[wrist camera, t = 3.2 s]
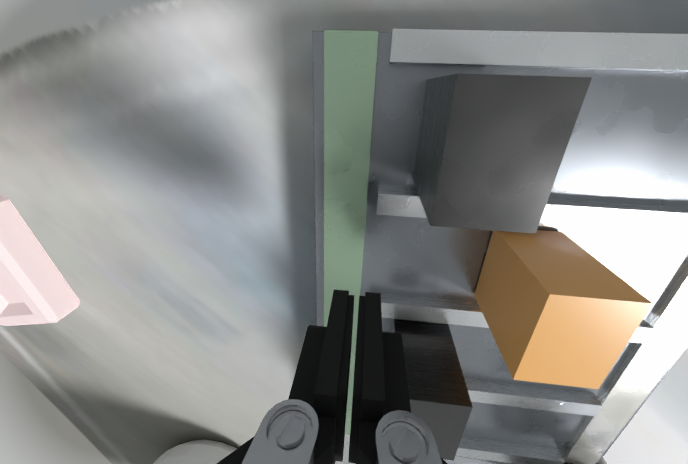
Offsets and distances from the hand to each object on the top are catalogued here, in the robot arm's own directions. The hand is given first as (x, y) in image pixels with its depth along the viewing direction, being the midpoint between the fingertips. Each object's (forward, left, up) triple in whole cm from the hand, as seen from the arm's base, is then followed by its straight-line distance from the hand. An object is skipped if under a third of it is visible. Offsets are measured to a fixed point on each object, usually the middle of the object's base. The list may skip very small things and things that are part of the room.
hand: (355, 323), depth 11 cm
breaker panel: (-8, +3, -7) cm, 11 cm away
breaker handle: (-8, 0, -5) cm, 9 cm away
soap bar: (+24, +4, -8) cm, 26 cm away
